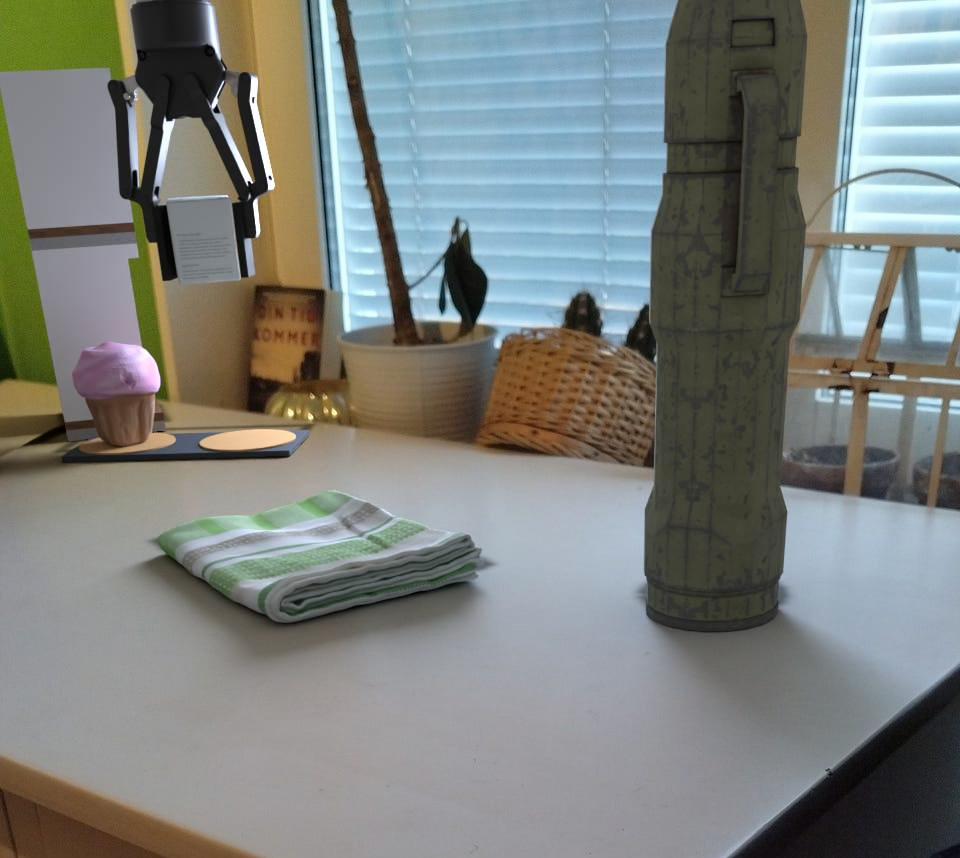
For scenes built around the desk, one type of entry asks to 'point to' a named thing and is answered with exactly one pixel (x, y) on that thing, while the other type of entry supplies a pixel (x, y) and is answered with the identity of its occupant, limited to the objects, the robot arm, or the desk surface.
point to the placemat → (193, 446)
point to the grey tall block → (74, 219)
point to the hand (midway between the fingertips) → (209, 277)
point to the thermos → (724, 311)
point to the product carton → (203, 239)
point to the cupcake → (118, 391)
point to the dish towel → (319, 556)
